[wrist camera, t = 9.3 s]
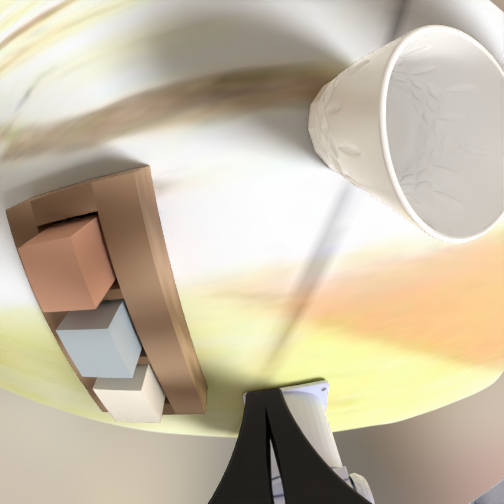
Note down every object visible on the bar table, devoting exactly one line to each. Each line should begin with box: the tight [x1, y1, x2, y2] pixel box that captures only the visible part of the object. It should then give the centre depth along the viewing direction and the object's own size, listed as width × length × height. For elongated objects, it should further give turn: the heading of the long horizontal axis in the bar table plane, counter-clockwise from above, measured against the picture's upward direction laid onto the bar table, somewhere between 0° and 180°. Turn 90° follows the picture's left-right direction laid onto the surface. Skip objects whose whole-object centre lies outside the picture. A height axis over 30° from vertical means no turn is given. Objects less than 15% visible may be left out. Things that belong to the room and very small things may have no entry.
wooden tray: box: [6, 166, 207, 415], centre depth 18 cm, size 19×10×3 cm, turn 6°
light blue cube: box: [56, 299, 143, 378], centre depth 16 cm, size 4×4×4 cm
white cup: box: [308, 25, 504, 243], centre depth 11 cm, size 8×8×10 cm
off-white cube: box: [93, 364, 166, 423], centre depth 19 cm, size 4×4×4 cm
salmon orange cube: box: [18, 214, 117, 312], centre depth 14 cm, size 4×4×4 cm
